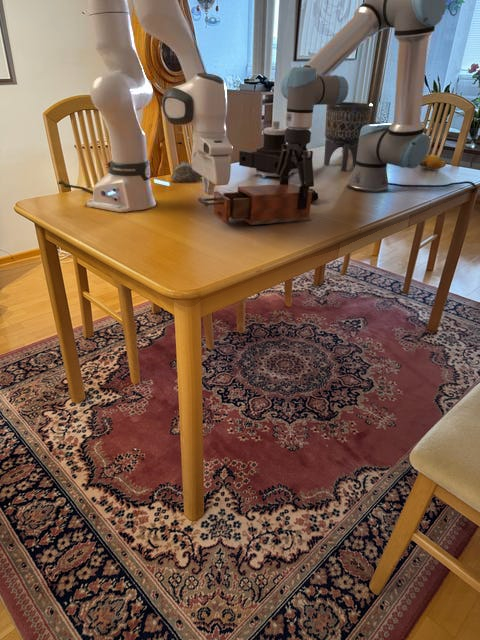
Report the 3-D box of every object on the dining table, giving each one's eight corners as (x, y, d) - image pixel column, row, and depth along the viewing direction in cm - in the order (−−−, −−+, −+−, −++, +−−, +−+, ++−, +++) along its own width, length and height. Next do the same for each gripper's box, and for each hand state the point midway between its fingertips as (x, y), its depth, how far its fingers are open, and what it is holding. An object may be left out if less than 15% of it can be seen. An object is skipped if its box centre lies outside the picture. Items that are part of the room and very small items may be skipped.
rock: (196, 175, 189) (195, 159, 185) (208, 179, 183) (208, 163, 180) (168, 180, 181) (167, 163, 178) (181, 184, 176) (180, 167, 172)
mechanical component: (240, 120, 182) (283, 115, 202) (239, 174, 192) (280, 164, 212) (283, 126, 170) (325, 120, 190) (280, 183, 180) (320, 171, 200)
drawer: (207, 224, 127) (207, 200, 124) (195, 215, 135) (195, 192, 132) (282, 218, 137) (284, 196, 134) (267, 209, 145) (269, 188, 141)
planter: (313, 167, 208) (319, 103, 195) (331, 160, 222) (338, 101, 209) (353, 173, 199) (362, 107, 185) (369, 166, 213) (379, 104, 199)
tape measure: (298, 204, 156) (299, 193, 154) (293, 198, 161) (294, 187, 159) (317, 203, 156) (319, 192, 155) (312, 198, 162) (313, 187, 160)
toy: (420, 162, 205) (414, 155, 217) (422, 176, 207) (416, 168, 220) (446, 154, 201) (438, 147, 214) (448, 168, 204) (440, 161, 217)
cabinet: (251, 224, 133) (253, 195, 129) (236, 214, 141) (237, 186, 137) (308, 220, 141) (312, 192, 137) (291, 210, 149) (294, 183, 145)
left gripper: (185, 136, 129) (186, 185, 136) (212, 149, 113) (211, 204, 120) (206, 135, 131) (205, 183, 138) (235, 149, 115) (233, 202, 123)
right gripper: (268, 123, 139) (264, 195, 150) (309, 134, 120) (301, 215, 131) (289, 122, 141) (284, 193, 152) (332, 133, 123) (323, 212, 134)
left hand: (208, 193), depth 129 cm, fingers closed
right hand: (292, 203), depth 142 cm, fingers closed on cabinet, 11 cm apart
